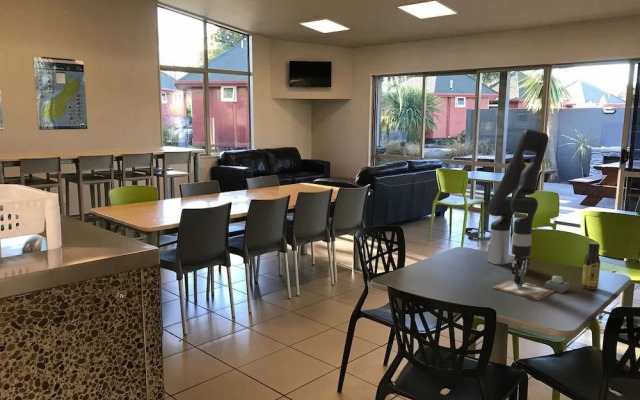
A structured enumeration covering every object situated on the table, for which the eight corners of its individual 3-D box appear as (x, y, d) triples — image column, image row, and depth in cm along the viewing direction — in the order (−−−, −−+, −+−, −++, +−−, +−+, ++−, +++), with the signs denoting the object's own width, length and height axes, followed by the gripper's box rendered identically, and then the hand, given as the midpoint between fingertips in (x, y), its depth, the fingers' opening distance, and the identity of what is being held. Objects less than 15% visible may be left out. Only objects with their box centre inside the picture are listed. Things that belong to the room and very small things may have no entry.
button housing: (544, 289, 220) (545, 282, 220) (551, 285, 225) (552, 279, 224) (561, 293, 215) (561, 286, 215) (568, 289, 220) (568, 282, 219)
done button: (550, 284, 220) (550, 276, 219) (554, 282, 222) (554, 274, 222) (559, 286, 217) (560, 278, 216) (563, 284, 220) (564, 276, 219)
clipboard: (492, 288, 221) (492, 286, 221) (509, 281, 231) (509, 278, 231) (538, 300, 206) (538, 297, 206) (554, 292, 216) (554, 289, 216)
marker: (514, 285, 221) (515, 265, 220) (517, 283, 223) (518, 264, 222) (521, 287, 219) (522, 267, 217) (524, 285, 221) (525, 265, 220)
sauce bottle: (591, 291, 217) (595, 245, 214) (578, 287, 223) (581, 242, 220) (601, 289, 220) (605, 243, 217) (587, 285, 226) (591, 240, 223)
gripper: (521, 239, 226) (518, 277, 228) (505, 244, 216) (502, 284, 219) (538, 242, 220) (535, 281, 223) (522, 247, 211) (519, 288, 213)
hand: (519, 282), depth 221 cm, fingers closed on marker, 3 cm apart
